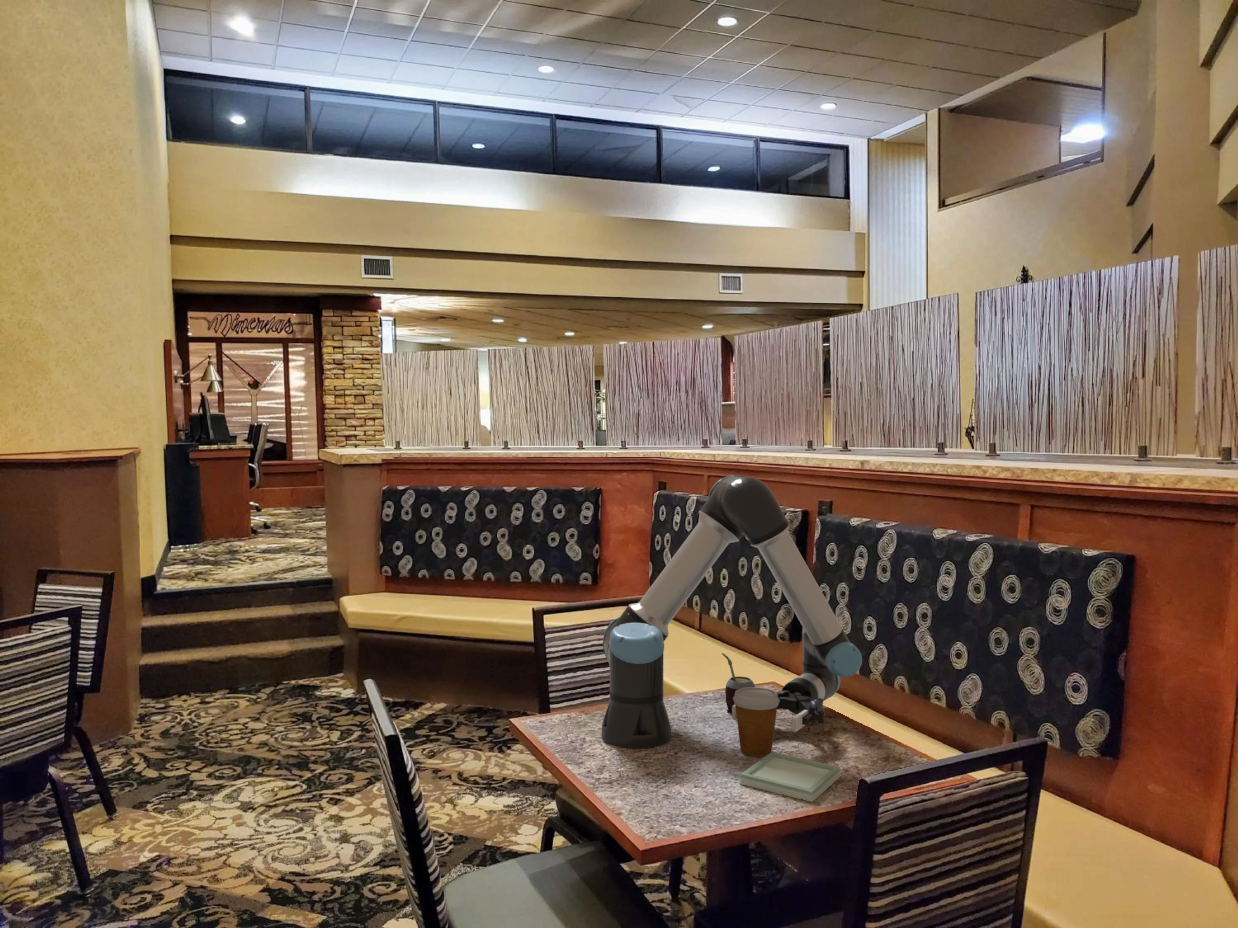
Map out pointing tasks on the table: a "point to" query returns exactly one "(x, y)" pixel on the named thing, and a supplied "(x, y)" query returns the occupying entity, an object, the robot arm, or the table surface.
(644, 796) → the table surface
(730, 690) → the mate gourd
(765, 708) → the disposable coffee cup
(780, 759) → the coaster plate
